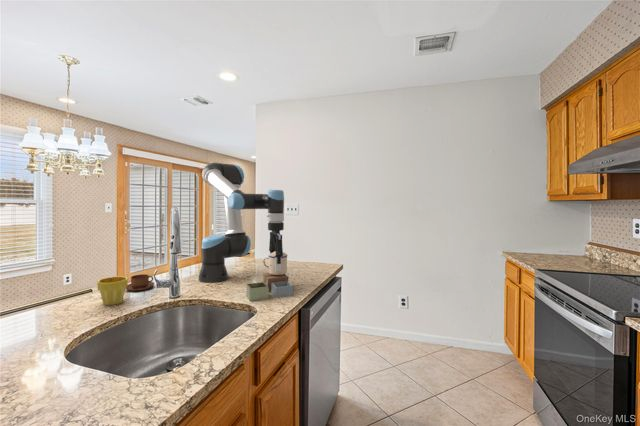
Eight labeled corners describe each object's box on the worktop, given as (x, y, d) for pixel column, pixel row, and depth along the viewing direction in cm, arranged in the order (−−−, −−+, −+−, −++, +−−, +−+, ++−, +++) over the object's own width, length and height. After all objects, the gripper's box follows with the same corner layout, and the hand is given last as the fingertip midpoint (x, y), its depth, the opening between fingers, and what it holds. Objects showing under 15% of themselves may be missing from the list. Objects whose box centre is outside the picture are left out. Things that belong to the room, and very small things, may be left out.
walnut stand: (263, 287, 148) (263, 273, 147) (282, 285, 152) (282, 271, 151) (267, 293, 138) (267, 278, 138) (288, 291, 142) (288, 276, 142)
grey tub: (271, 293, 139) (271, 282, 138) (287, 291, 142) (287, 281, 142) (275, 298, 131) (275, 287, 131) (292, 296, 134) (293, 285, 134)
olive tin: (246, 297, 133) (246, 283, 133) (264, 295, 136) (264, 282, 136) (249, 302, 126) (249, 288, 125) (268, 300, 129) (268, 286, 129)
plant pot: (131, 302, 124) (130, 279, 124) (101, 308, 117) (100, 284, 116) (124, 296, 131) (123, 274, 131) (95, 302, 124) (94, 279, 123)
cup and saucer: (140, 284, 151) (140, 272, 151) (159, 286, 148) (159, 274, 147) (118, 291, 139) (118, 278, 139) (139, 293, 136) (139, 280, 136)
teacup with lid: (288, 270, 149) (289, 247, 149) (285, 275, 140) (285, 251, 140) (265, 269, 150) (265, 247, 150) (260, 274, 141) (260, 250, 141)
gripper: (263, 220, 152) (262, 264, 153) (274, 224, 132) (273, 274, 133) (277, 220, 155) (277, 263, 156) (290, 223, 135) (289, 272, 136)
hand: (275, 268), depth 145 cm, fingers closed on teacup with lid, 9 cm apart
